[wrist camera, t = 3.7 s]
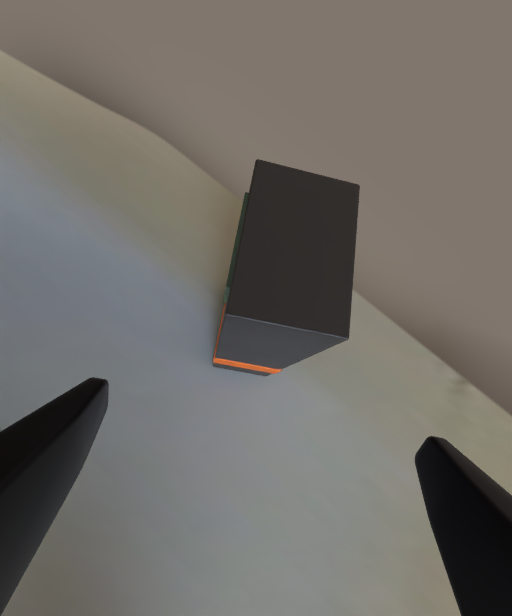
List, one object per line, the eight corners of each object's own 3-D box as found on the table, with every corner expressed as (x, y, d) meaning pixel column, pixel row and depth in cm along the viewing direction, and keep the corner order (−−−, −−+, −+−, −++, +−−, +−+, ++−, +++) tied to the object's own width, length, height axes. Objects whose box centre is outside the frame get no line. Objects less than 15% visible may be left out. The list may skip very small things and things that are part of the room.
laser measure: (279, 299, 23) (362, 183, 11) (267, 377, 21) (351, 341, 9) (226, 288, 22) (252, 155, 10) (210, 366, 20) (219, 315, 9)
